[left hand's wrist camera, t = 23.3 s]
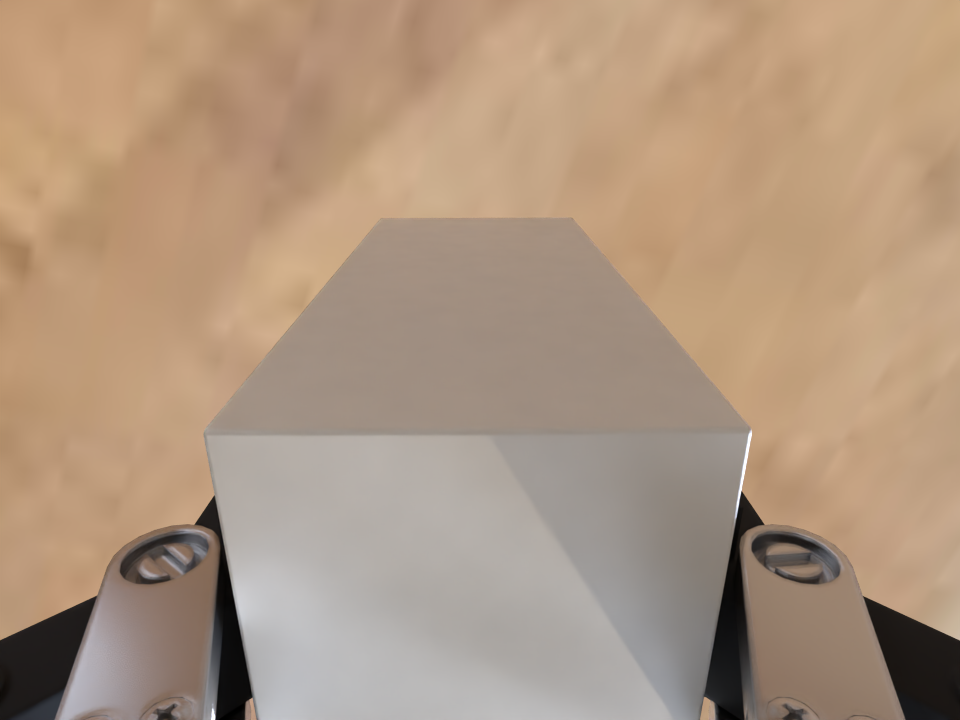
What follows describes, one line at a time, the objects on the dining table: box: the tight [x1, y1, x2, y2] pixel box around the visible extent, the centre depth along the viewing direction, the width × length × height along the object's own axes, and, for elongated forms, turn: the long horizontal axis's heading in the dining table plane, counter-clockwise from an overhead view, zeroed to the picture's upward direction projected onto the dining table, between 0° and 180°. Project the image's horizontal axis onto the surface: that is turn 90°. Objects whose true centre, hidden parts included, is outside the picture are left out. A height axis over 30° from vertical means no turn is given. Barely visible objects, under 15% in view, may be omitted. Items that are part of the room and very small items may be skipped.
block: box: [204, 218, 752, 720], centre depth 13 cm, size 7×5×12 cm
